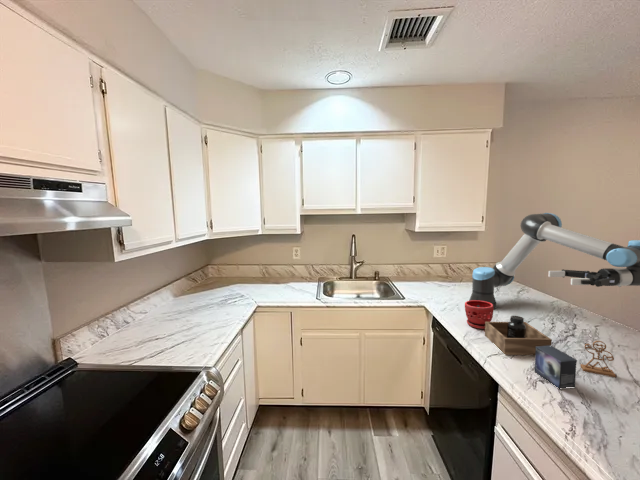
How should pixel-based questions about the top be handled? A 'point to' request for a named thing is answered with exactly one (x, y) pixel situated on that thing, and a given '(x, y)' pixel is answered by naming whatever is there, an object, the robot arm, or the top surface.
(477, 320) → the plant pot
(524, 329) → the supplement bottle
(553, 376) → the small box
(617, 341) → the top surface
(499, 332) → the walnut box
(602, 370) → the gingerbread man figurine
